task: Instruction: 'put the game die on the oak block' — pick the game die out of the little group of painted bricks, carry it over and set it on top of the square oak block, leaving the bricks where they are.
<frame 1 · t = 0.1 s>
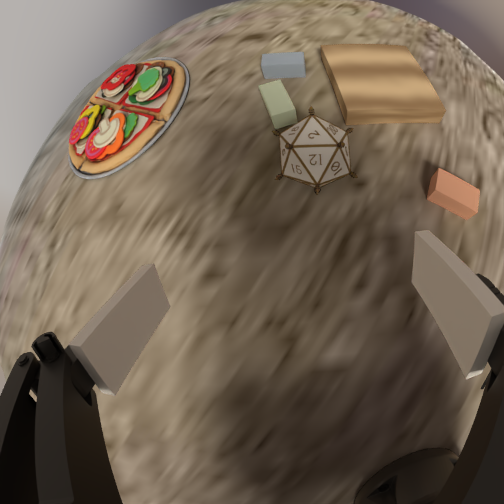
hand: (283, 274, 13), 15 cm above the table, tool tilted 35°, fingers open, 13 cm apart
terracotta brick: (448, 199, 25), on the table
toy pizza: (124, 113, 41), on the table
oak block: (379, 86, 30), on the table
slate blue brick: (285, 72, 34), on the table
sage brick: (279, 110, 32), on the table
game die: (315, 171, 30), on the table
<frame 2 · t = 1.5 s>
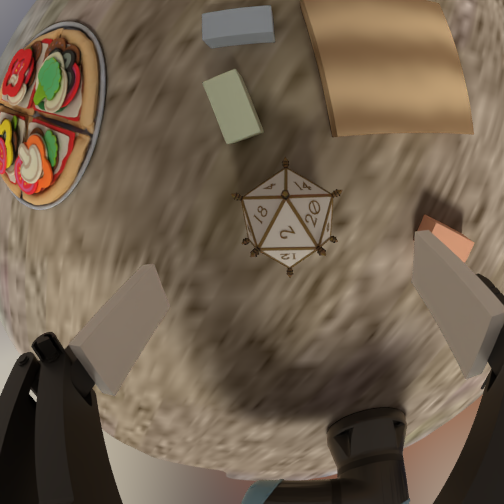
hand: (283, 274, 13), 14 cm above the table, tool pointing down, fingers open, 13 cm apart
terracotta brick: (438, 235, 24), on the table
toy pizza: (40, 114, 25), on the table
oak block: (388, 63, 18), on the table
slate blue brick: (242, 32, 19), on the table
sage brick: (237, 109, 22), on the table
game die: (289, 206, 26), on the table
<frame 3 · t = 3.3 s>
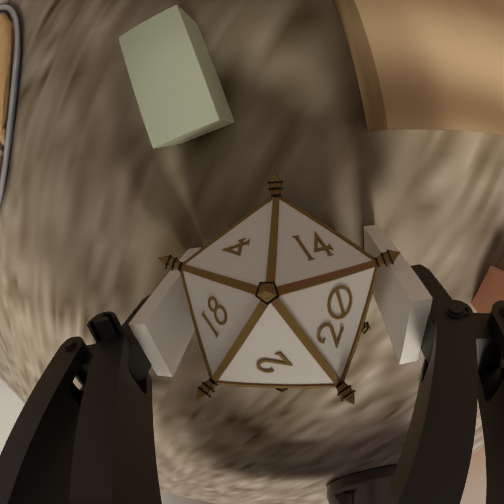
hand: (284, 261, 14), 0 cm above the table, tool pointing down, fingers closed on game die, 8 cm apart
terracotta brick: (501, 290, 13), on the table
oak block: (449, 17, 7), on the table
sage brick: (188, 81, 11), on the table
game die: (284, 256, 14), on the table, touching gripper
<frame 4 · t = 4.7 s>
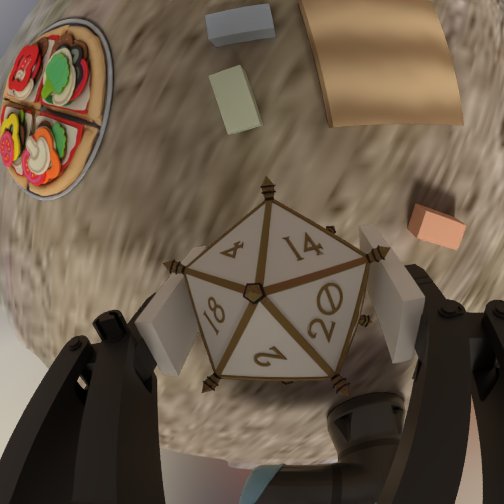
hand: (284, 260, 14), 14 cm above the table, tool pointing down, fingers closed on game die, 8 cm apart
terracotta brick: (431, 222, 26), on the table
toy pizza: (47, 108, 26), on the table
oak block: (381, 59, 19), on the table
slate blue brick: (244, 30, 20), on the table
sage brick: (240, 102, 24), on the table
game die: (287, 254, 15), point 13 cm above the table, touching gripper
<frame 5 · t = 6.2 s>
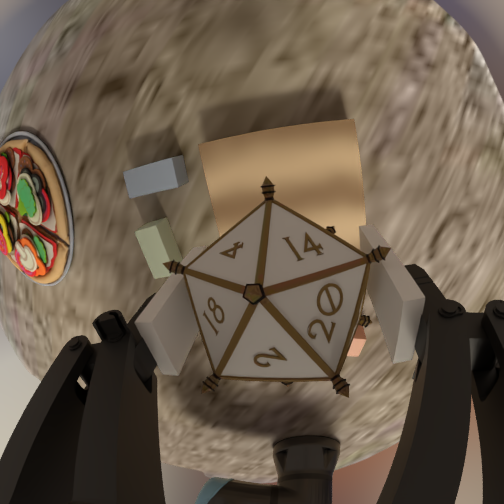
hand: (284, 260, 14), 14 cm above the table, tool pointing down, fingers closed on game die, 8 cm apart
terracotta brick: (337, 330, 33), on the table
toy pizza: (27, 210, 34), on the table
oak block: (289, 197, 27), on the table
slate blue brick: (162, 174, 28), on the table
sage brick: (165, 242, 31), on the table
game die: (287, 254, 15), point 13 cm above the table, touching gripper
when the fingers open (5 cm above the table, at t = 8.2 s): game die stays where it is, resting on oak block.
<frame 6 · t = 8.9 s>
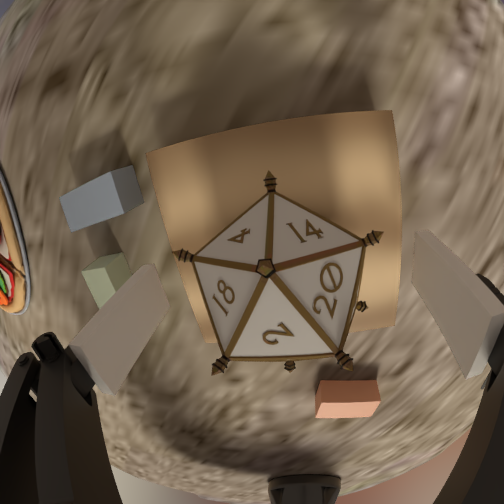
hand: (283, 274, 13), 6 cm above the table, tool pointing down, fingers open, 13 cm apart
terracotta brick: (345, 387, 25), on the table
oak block: (286, 229, 18), on the table
slate blue brick: (111, 194, 19), on the table
sage brick: (124, 283, 23), on the table
game die: (285, 247, 16), point 3 cm above the table, touching oak block
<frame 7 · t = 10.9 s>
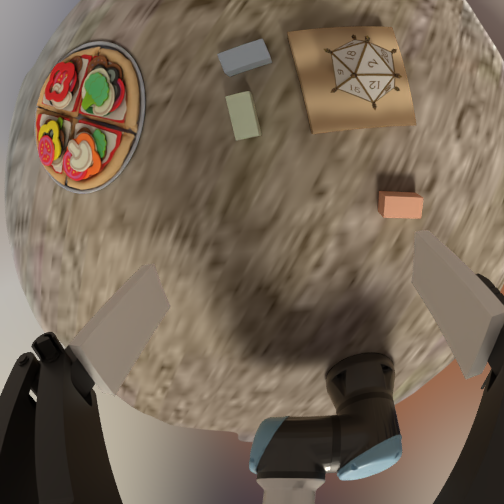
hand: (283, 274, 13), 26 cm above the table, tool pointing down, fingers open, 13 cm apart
terracotta brick: (396, 201, 35), on the table
toy pizza: (83, 116, 35), on the table
oak block: (351, 78, 28), on the table
slate blue brick: (247, 60, 29), on the table
sage brick: (246, 116, 33), on the table
game die: (356, 75, 26), point 3 cm above the table, touching oak block
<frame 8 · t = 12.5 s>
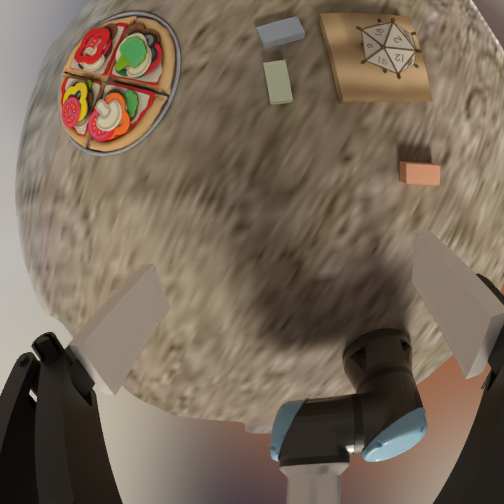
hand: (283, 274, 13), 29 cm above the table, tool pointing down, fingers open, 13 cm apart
terracotta brick: (415, 171, 35), on the table
toy pizza: (112, 81, 35), on the table
oak block: (374, 58, 29), on the table
slate blue brick: (281, 36, 30), on the table
sage brick: (279, 84, 33), on the table
game die: (379, 54, 26), point 3 cm above the table, touching oak block
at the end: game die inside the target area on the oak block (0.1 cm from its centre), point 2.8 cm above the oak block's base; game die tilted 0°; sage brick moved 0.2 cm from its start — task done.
